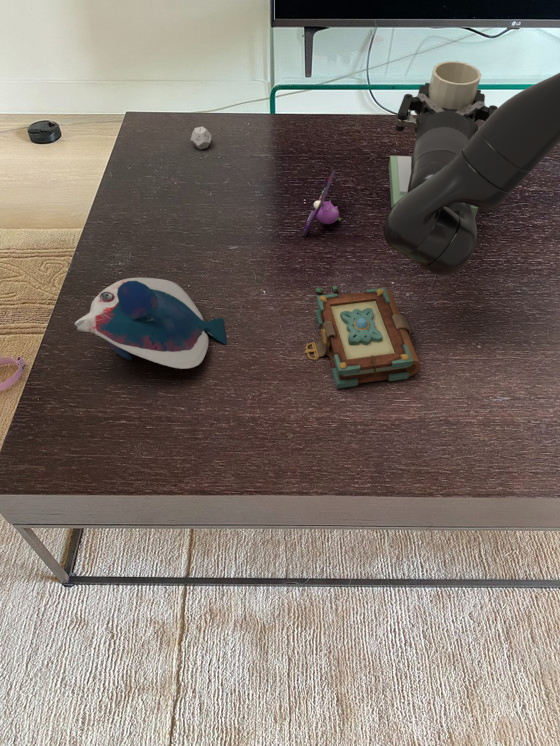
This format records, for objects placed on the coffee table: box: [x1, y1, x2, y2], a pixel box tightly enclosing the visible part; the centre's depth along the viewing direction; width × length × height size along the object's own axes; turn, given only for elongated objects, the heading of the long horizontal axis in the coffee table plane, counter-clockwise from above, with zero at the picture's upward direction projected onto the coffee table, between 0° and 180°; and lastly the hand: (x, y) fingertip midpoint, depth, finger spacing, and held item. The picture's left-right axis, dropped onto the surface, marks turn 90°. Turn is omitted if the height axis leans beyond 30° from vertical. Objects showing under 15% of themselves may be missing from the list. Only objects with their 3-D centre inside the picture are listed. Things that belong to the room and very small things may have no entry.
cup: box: [427, 60, 482, 110], centre depth 91 cm, size 7×7×10 cm
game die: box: [190, 125, 213, 150], centre depth 108 cm, size 4×4×3 cm
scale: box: [388, 155, 479, 218], centre depth 100 cm, size 13×13×3 cm
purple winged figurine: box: [302, 169, 342, 237], centre depth 94 cm, size 7×5×9 cm
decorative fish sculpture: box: [74, 277, 228, 370], centre depth 78 cm, size 20×12×15 cm
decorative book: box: [304, 285, 421, 389], centre depth 80 cm, size 13×18×5 cm
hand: (451, 92), depth 91 cm, fingers closed on cup, 6 cm apart
